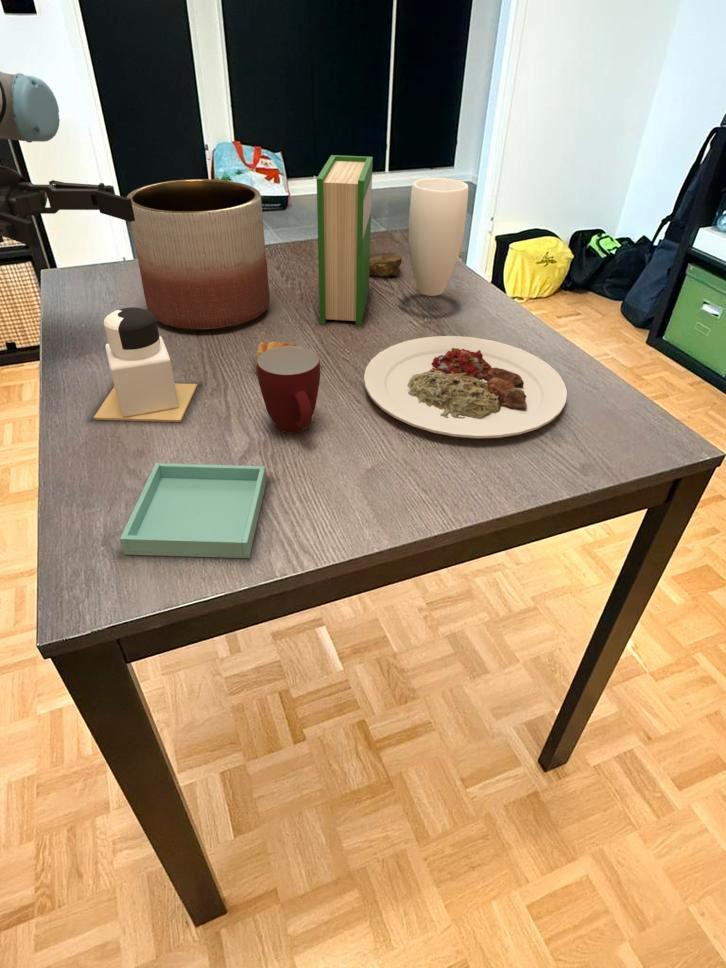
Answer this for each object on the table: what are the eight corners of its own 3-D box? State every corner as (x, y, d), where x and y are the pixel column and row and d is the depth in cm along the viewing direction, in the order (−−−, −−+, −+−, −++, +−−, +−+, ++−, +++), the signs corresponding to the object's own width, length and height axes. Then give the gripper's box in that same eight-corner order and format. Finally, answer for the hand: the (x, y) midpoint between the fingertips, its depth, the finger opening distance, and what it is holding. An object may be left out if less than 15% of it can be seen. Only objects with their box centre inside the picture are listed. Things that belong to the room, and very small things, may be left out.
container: (170, 382, 93) (154, 298, 85) (179, 408, 88) (163, 321, 80) (116, 391, 91) (95, 306, 83) (122, 418, 85) (99, 330, 77)
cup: (395, 312, 116) (402, 188, 103) (410, 292, 124) (418, 174, 111) (450, 320, 114) (464, 194, 101) (461, 299, 122) (476, 180, 108)
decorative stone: (349, 275, 131) (349, 258, 129) (357, 260, 138) (357, 244, 136) (398, 279, 130) (399, 262, 128) (404, 264, 137) (405, 247, 135)
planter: (277, 289, 124) (270, 180, 111) (261, 338, 107) (250, 215, 94) (166, 286, 124) (147, 176, 111) (132, 334, 107) (105, 211, 94)
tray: (124, 554, 66) (119, 538, 64) (159, 477, 76) (155, 462, 74) (249, 558, 66) (247, 542, 64) (266, 481, 76) (265, 465, 74)
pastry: (317, 358, 101) (317, 336, 99) (315, 378, 96) (314, 356, 94) (260, 356, 101) (258, 335, 99) (254, 377, 96) (252, 354, 94)
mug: (341, 440, 83) (341, 373, 77) (287, 458, 80) (282, 390, 73) (304, 404, 90) (301, 340, 84) (252, 419, 86) (246, 354, 80)
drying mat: (94, 419, 86) (93, 417, 85) (117, 383, 93) (117, 381, 93) (181, 422, 86) (180, 419, 85) (197, 386, 93) (197, 383, 93)
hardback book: (360, 326, 111) (363, 180, 96) (319, 323, 112) (316, 178, 97) (368, 289, 125) (372, 157, 110) (332, 287, 125) (331, 155, 110)
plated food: (416, 467, 79) (418, 445, 77) (335, 362, 100) (335, 343, 98) (607, 422, 88) (614, 402, 86) (495, 335, 110) (498, 317, 107)
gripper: (78, 203, 97) (169, 230, 87) (-91, 242, 81) (-2, 280, 71) (65, 149, 92) (160, 171, 82) (-118, 179, 76) (-27, 211, 66)
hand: (85, 222), depth 77 cm, fingers open, 13 cm apart
